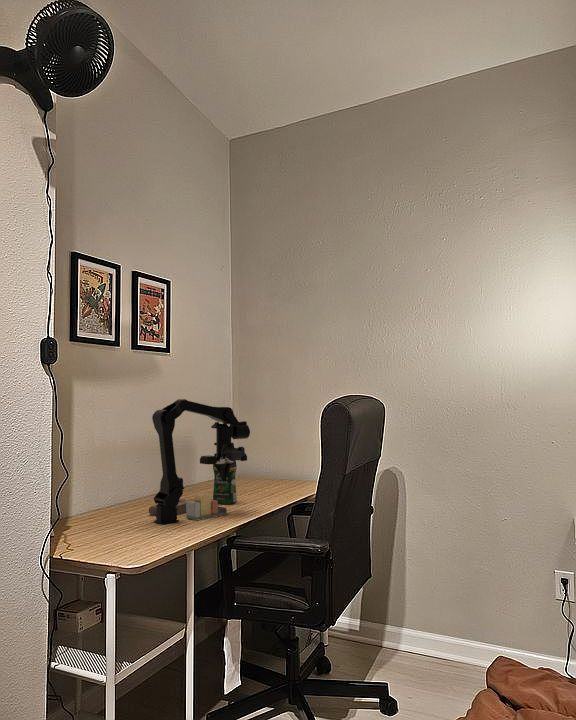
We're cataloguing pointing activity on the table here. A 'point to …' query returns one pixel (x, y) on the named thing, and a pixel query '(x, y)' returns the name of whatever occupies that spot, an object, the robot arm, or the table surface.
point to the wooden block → (180, 507)
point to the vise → (194, 511)
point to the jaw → (214, 506)
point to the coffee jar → (225, 486)
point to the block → (204, 503)
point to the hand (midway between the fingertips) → (224, 481)
